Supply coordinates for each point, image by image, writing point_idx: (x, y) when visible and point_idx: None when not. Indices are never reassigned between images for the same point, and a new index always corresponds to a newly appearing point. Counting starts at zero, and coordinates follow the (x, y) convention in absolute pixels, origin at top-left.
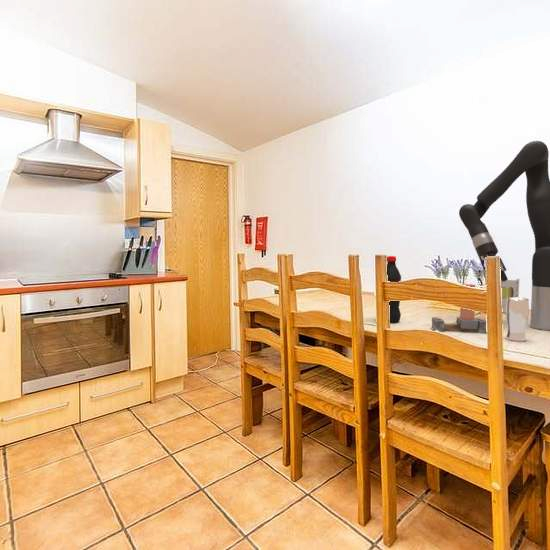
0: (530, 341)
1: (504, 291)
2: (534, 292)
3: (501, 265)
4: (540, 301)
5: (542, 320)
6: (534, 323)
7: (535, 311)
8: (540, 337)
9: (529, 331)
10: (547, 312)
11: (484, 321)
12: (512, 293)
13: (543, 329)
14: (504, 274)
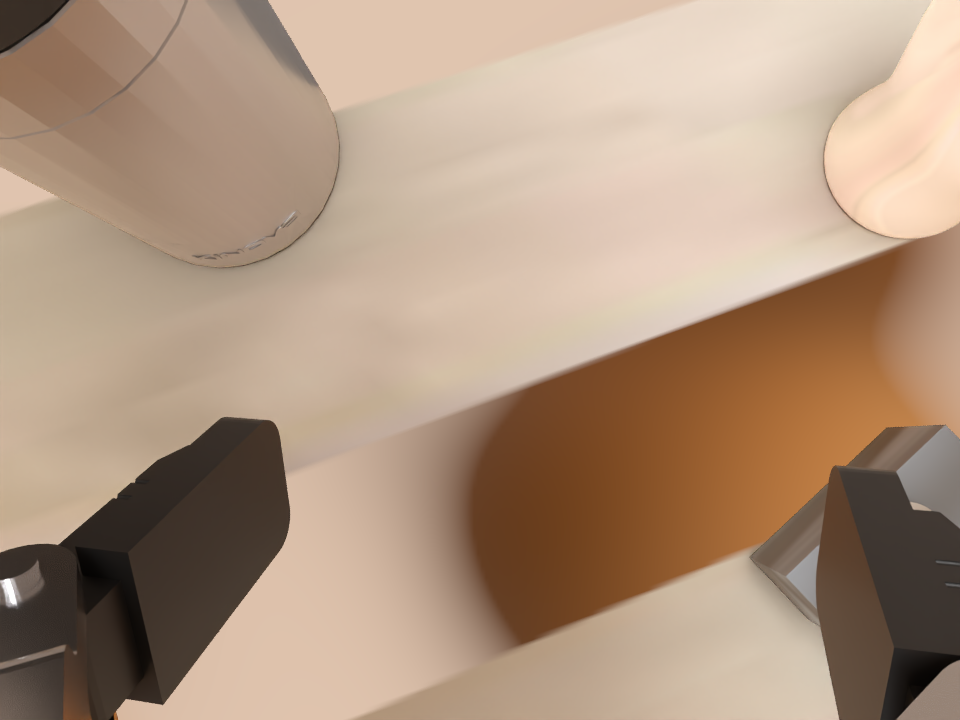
0: (887, 51)
1: None
2: (146, 47)
3: (39, 681)
4: (241, 15)
5: (313, 98)
6: (313, 189)
7: (273, 136)
8: (663, 47)
9: (488, 192)
10: (273, 12)
11: (956, 463)
12: None
13: (335, 124)
14: (187, 506)
